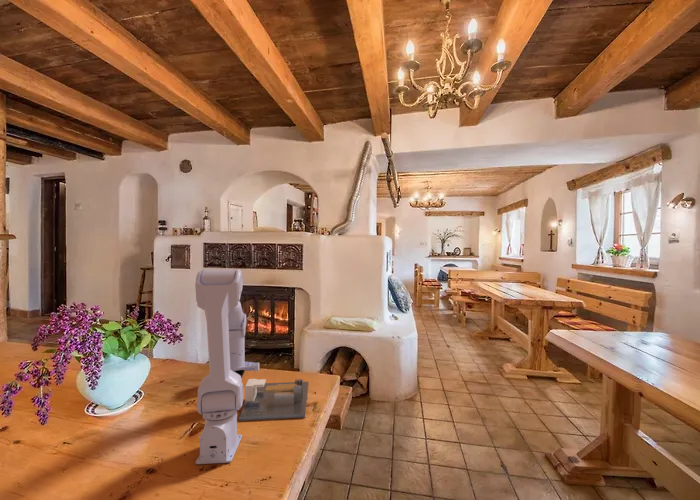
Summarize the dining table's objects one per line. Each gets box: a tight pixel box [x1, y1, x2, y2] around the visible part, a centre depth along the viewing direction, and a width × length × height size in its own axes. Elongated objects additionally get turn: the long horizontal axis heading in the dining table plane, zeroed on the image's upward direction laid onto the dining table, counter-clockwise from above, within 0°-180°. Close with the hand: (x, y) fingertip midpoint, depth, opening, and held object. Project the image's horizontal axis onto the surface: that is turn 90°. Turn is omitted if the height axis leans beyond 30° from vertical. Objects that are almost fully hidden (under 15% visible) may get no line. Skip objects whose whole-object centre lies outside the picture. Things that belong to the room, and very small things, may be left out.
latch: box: [244, 378, 267, 402], centre depth 93 cm, size 5×5×5 cm
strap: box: [265, 383, 300, 393], centre depth 94 cm, size 3×10×1 cm, turn 95°
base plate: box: [238, 378, 309, 422], centre depth 94 cm, size 20×19×6 cm
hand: (235, 393), depth 92 cm, fingers closed
